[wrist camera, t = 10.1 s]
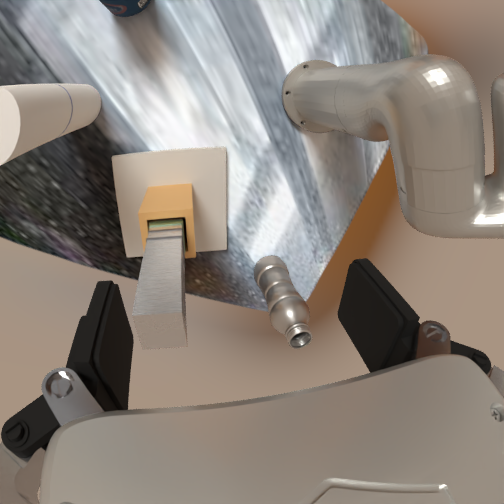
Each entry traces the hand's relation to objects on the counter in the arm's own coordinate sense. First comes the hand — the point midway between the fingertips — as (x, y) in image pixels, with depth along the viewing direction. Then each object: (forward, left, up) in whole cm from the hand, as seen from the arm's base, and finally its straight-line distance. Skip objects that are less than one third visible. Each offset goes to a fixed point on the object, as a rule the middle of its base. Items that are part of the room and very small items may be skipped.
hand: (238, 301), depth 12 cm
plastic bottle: (-12, +24, -38) cm, 47 cm away
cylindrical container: (+19, -8, -38) cm, 44 cm away
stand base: (+5, +10, -38) cm, 40 cm away
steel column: (+5, +10, -31) cm, 33 cm away
